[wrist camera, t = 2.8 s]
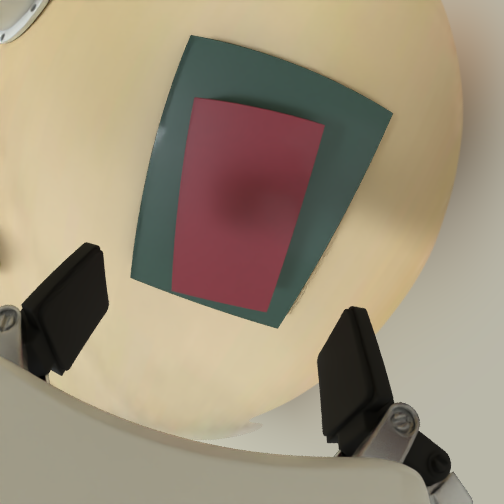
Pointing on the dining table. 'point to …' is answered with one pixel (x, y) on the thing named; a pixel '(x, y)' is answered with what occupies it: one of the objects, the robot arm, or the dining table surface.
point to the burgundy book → (240, 200)
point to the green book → (276, 99)
